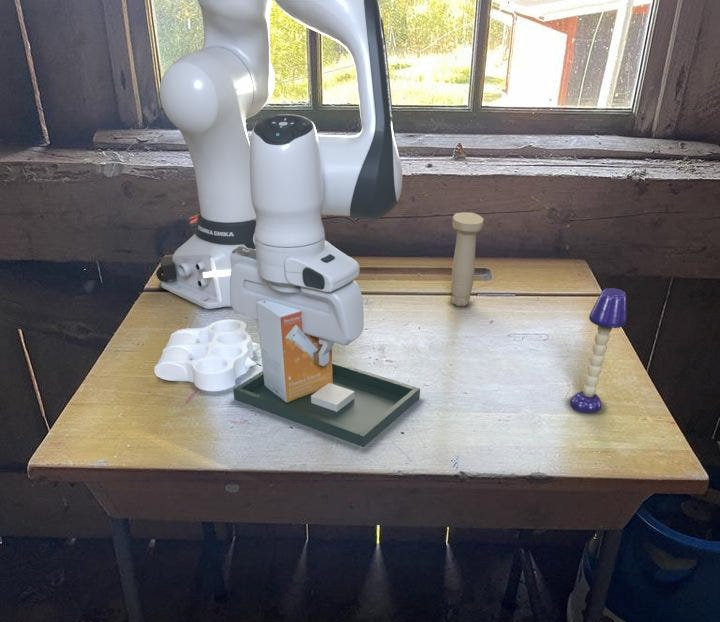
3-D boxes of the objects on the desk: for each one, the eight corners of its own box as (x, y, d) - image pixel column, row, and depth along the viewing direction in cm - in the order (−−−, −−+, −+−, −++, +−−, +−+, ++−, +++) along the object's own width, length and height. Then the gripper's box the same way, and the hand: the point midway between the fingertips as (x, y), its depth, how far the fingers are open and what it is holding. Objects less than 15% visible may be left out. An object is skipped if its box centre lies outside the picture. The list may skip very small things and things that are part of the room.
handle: (450, 310, 127) (457, 224, 118) (443, 296, 132) (450, 212, 123) (477, 310, 128) (486, 223, 119) (469, 295, 133) (478, 212, 124)
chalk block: (310, 403, 101) (310, 395, 100) (329, 389, 104) (328, 382, 103) (337, 412, 99) (336, 404, 98) (354, 398, 102) (354, 391, 101)
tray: (234, 402, 102) (232, 389, 100) (297, 361, 112) (296, 349, 110) (363, 450, 92) (363, 436, 91) (419, 401, 102) (420, 388, 101)
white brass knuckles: (177, 337, 118) (267, 338, 118) (150, 393, 104) (253, 394, 103) (174, 318, 116) (265, 319, 116) (146, 372, 102) (251, 373, 101)
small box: (286, 404, 100) (279, 317, 92) (263, 386, 104) (254, 300, 96) (334, 386, 104) (331, 301, 96) (310, 369, 108) (305, 286, 100)
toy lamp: (577, 393, 104) (601, 281, 94) (609, 402, 102) (637, 289, 92) (565, 407, 101) (589, 293, 91) (598, 417, 99) (626, 302, 89)
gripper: (213, 250, 95) (225, 345, 104) (342, 282, 86) (343, 384, 95) (245, 236, 99) (253, 329, 108) (370, 266, 91) (369, 365, 99)
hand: (296, 355), depth 101 cm, fingers closed on small box, 7 cm apart
